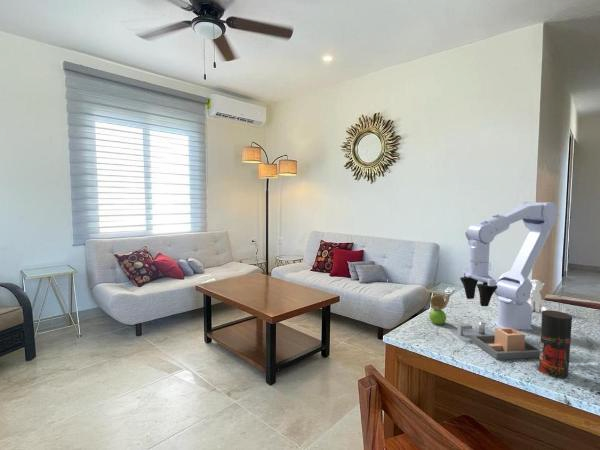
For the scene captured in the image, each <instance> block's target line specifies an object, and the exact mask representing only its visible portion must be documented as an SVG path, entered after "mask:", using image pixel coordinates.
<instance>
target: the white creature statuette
mask: <svg viewBox="0 0 600 450" xmlns="http://www.w3.org/2000/svg"><path fill="white" fill-rule="evenodd" d="M530 282H531V283H532V285H533V287H532V289H531V294H530V298H529V299H528V301H527V302H528V303H529V304H530V306H531V308H532V313H533V312H535V313H541V314H542V311H545V310H549V308H548V306H545V305H544V304H543V301H542V299H543V298H542V295H541V293H540V292H541V291H542V290H543V287H544V285H545V284H546V283H542V281H541V280H538V279H531V280H530Z"/></svg>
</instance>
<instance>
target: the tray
mask: <svg viewBox="0 0 600 450" xmlns="http://www.w3.org/2000/svg"><path fill="white" fill-rule="evenodd" d="M494 341H495V335H473V336H471V340H470V342H471V343H472V344H473V345H475V346H477V348H479V349H481V350H482V351H484V352H485V353H486V354H488V355H489V357H492V358H493V359H494V360H496V361H501V360H502V361H503V360H504V361H505V360H522V359H527V360H528V359H539V357H540V347H538V346H536V345H535V344H532V343H530V342H529V341H527V340H525V346H524V351H503V350H494V349H493V348H491V347H490V346H488V344H494Z"/></svg>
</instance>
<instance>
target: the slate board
mask: <svg viewBox="0 0 600 450" xmlns="http://www.w3.org/2000/svg"><path fill="white" fill-rule="evenodd" d="M447 330H448V331H449V332H450V333H452V334H453V335H455V336H456V337H457V338H458V339H459V340H461V341H463V342H465V341H466V342H467V341H471V336H473V335H482V334H479V333H478V332H479V327H472V329H463V335H462V336H460V335H459V334H458V333H457V330H458V328H447ZM484 335H495V330H492V329H491V328H489V327H486V326H485V334H484Z"/></svg>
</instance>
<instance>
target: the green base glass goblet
mask: <svg viewBox="0 0 600 450" xmlns="http://www.w3.org/2000/svg"><path fill="white" fill-rule="evenodd" d="M447 292H448V293H447V294H445V298H444V297H443V296H442V295H439V294H435V295H433V296H431V298H430V304H431V305H430V308H431V311H430V312H429V320H430V322H431V323H432V324H434V325H438V326H440V325H444V324H445V322H447V315H446V312H445V311H444V309H446V308H447V306H448V304H449V300H450V297H451V294H450V293H451V291H450V290H448V291H447Z"/></svg>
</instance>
